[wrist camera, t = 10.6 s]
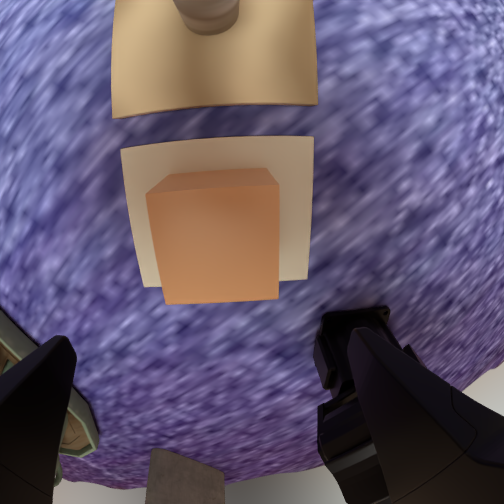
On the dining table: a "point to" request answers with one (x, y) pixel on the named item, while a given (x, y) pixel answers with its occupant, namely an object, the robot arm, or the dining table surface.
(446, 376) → the dining table surface
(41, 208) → the dining table surface
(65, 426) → the tea set
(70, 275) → the dining table surface
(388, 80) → the dining table surface
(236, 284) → the orange cube
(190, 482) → the hip flask
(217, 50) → the post stand
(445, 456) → the robot arm
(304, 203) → the pad
